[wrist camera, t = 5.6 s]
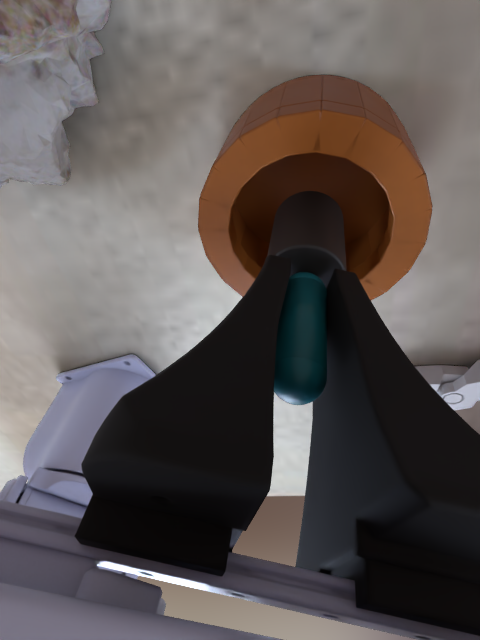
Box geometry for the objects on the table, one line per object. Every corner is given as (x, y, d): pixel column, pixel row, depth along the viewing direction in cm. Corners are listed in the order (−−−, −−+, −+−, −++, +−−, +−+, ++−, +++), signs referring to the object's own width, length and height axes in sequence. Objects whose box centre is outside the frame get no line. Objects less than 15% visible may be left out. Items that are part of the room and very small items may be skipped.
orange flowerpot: (268, 274, 21) (258, 333, 17) (188, 136, 16) (154, 181, 13) (425, 223, 17) (448, 285, 14) (381, 25, 12) (400, 49, 9)
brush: (290, 258, 15) (269, 433, 10) (263, 206, 14) (220, 376, 8) (352, 237, 14) (368, 422, 8) (329, 177, 13) (332, 354, 7)
